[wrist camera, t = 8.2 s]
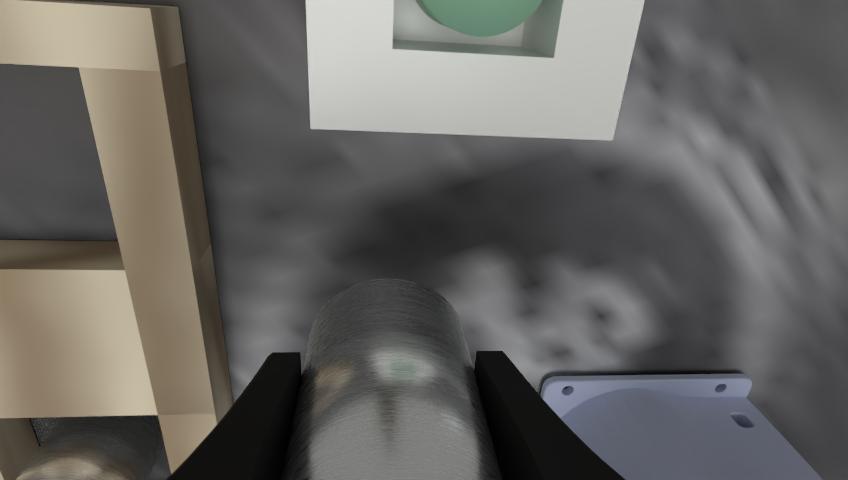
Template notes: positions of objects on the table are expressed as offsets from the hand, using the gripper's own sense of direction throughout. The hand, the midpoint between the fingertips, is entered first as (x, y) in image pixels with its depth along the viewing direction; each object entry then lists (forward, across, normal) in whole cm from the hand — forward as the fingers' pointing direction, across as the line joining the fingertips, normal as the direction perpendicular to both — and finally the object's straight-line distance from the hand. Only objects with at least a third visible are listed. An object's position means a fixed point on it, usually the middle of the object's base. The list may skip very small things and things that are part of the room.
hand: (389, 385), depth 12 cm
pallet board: (+7, +11, +3) cm, 13 cm away
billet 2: (+2, 0, 0) cm, 2 cm away
